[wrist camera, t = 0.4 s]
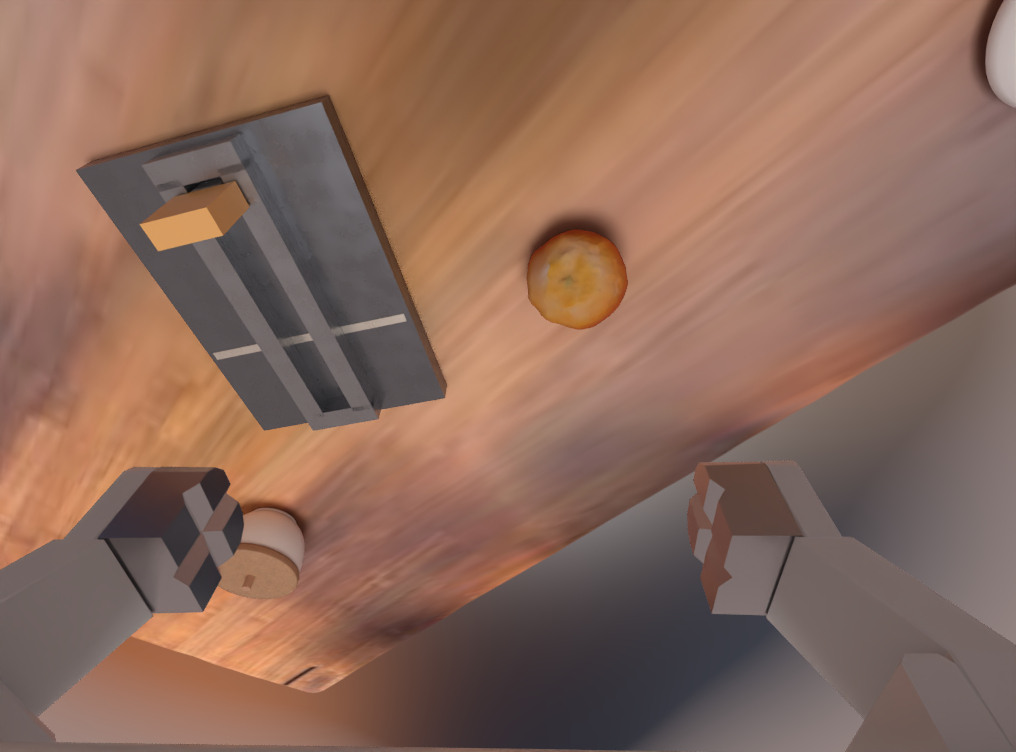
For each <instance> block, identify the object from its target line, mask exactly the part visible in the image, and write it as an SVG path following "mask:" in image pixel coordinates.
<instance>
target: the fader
mask: <svg viewBox="0 0 1016 752" xmlns="http://www.w3.org/2000/svg"><path fill="white" fill-rule="evenodd" d="M248 208H249V205H248V203H247V201H246V199H245V198H244V196H243V194H242V192H241V190H240V189H239V187H238V185H237V183H236V181H233V182H229V183H225V184H224V182H223V181H222V179H221V178H218V179H214V180H210V181H206V182H202V183H201V184H199V185H198V186H197V187H196V188H195V189H193V190H192V191H191V192H190V193H186V194H183V195H179V196H175V197H173V198H172V199H170V200H169V201H168V202H167V203H165V204H164V205H163V206H162V207H160V208H159V209H158V210H157V211H156V212H154V213H153V214H152V215H151V216H149V217H148V218H147V219H146V220H144V221H143V222H142V223H141V224H140V226H141V227H142V229H143V230H144V232H145V233H146V234H147V236H148V237H149V239H150V240H151V242H152V243H153V245H154V246H155V247H156V249H157V250H158V251H162V250H166V249H170V248H174V247H178V246H182V245H186V244H190V243H194V242H198V241H203V240H207V239H211V238H215V237H219V236H223V235H224V234H225V233H226V232H227V231H228V230H229V229H230V228H231V227H232V226H233V225H234V223H235V222H236V221H237V220H238V219H239V218H240V217H241V216H242V215H243V214H244V213H245V212H246V211H247V210H248Z"/></svg>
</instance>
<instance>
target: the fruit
mask: <svg viewBox="0 0 1016 752" xmlns="http://www.w3.org/2000/svg"><path fill="white" fill-rule="evenodd" d="M527 284H528V298H529V300H530V302H531V304H532V305H533V306H535V307H536V308H537V310H538V311H539V312H540V314H541V316H543V317H544V318H545V319H546V320H548V321H550V322H552V323H558V324H561V325H564V326H566V327H569V328H573V329H586V328H591V327H594V326H596V325H597V324H599V323H600V322H602V321H603V320H604V319H606V318H607V317H608V316H610V315H611V314H612V313H613V312H614V311H615V310H616V309H617V308H618V306H619V305H620V303H621V301H622V299H623V297H624V295H625V292H626V289H627V285H628V280H627V274H626V267H625V264H624V262H623V259H622V257H621V255H620V253H619V251H618V249H617V247H616V246H615V245H614V244H613V243H612V242H611V241H609V240H608V239H607V238H605V237H603V236H601V235H599V234H597V233H594V232H591V231H585V230H579V229H575V230H569V231H566V232H563V233H561V234H558V235H556V236H554V237H553V238H551V239H550V240H548V241H547V242H546V243H545V244H544V245H543V246H541V247H540V248H539V249H537V250H536V251H535V252H534V253H533V254H532V256H531V258H530V260H529V263H528V273H527Z"/></svg>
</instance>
